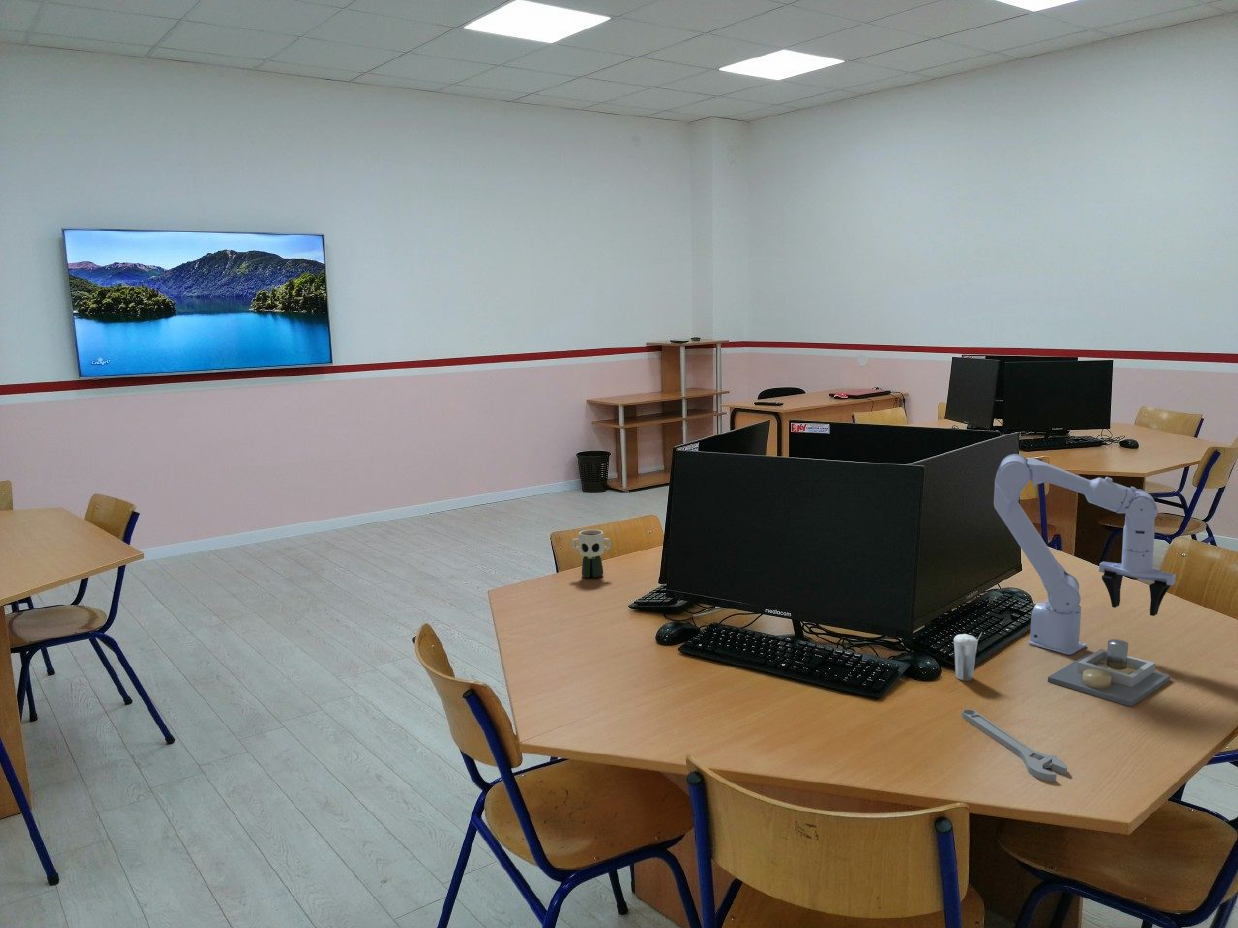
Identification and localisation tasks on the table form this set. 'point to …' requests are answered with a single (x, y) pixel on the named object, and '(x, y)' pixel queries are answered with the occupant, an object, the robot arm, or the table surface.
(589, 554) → the character mug
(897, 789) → the table surface
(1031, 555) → the robot arm
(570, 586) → the table surface
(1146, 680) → the carrier
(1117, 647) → the flanged metal cylinder
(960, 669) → the milkshake
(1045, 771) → the adjustable wrench
